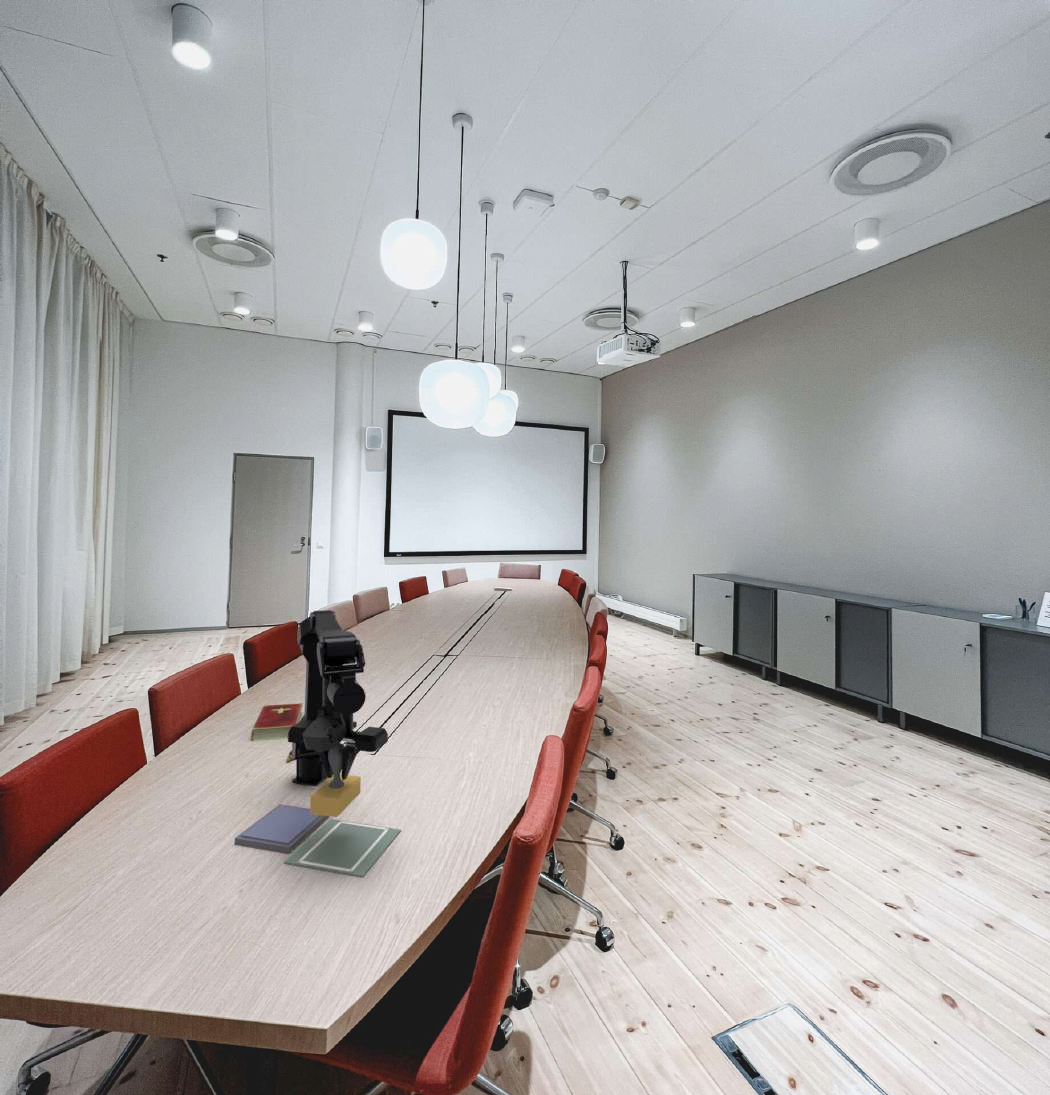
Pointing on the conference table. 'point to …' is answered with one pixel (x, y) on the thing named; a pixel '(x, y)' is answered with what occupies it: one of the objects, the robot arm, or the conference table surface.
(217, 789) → the conference table surface
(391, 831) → the marking board
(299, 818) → the ink pad
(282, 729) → the hardcover book
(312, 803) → the rubber stamp
